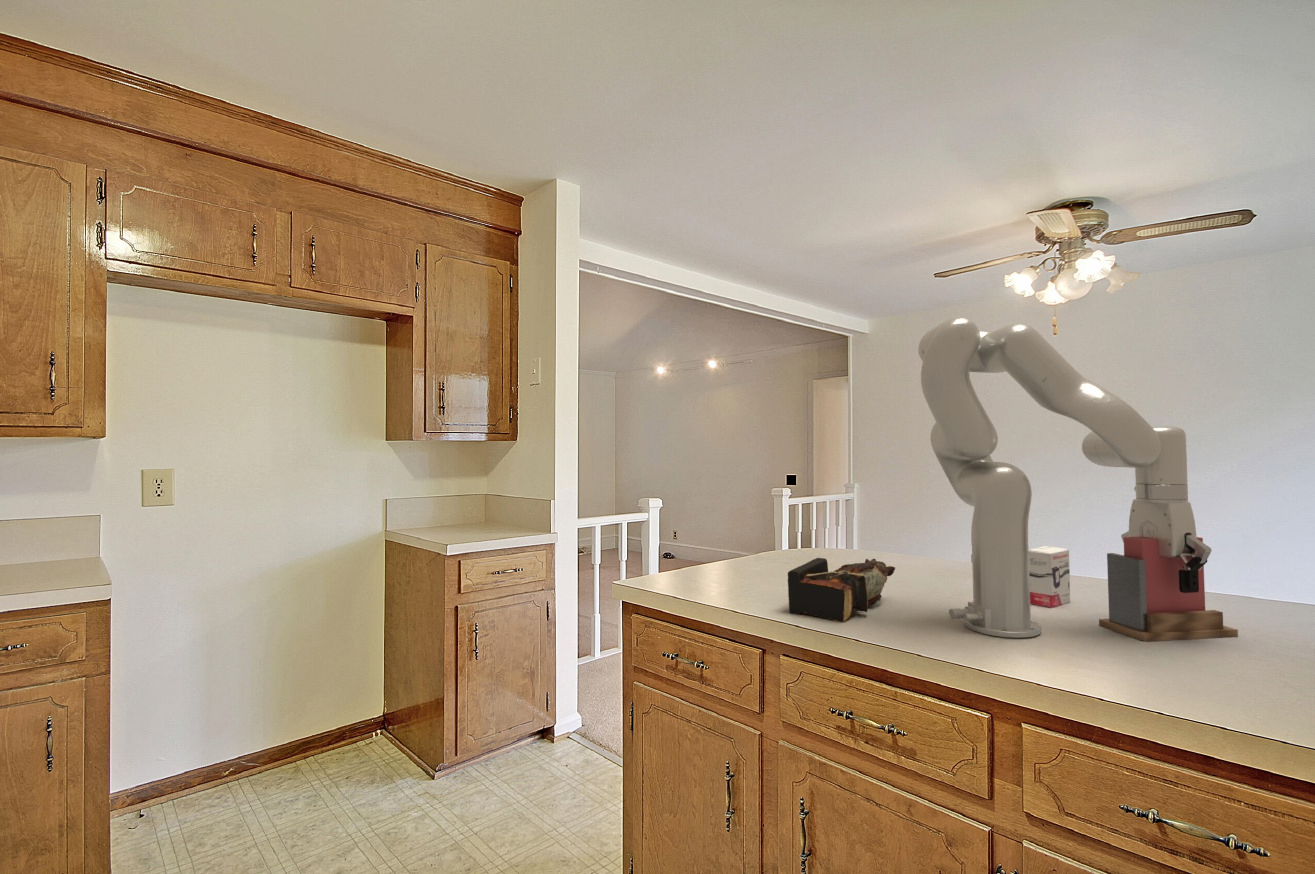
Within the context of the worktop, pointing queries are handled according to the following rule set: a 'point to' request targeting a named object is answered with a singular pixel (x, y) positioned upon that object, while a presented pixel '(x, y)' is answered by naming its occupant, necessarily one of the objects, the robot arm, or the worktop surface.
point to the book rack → (1178, 626)
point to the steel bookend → (1127, 591)
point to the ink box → (1049, 576)
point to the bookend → (836, 588)
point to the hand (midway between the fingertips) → (1164, 586)
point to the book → (1164, 578)
